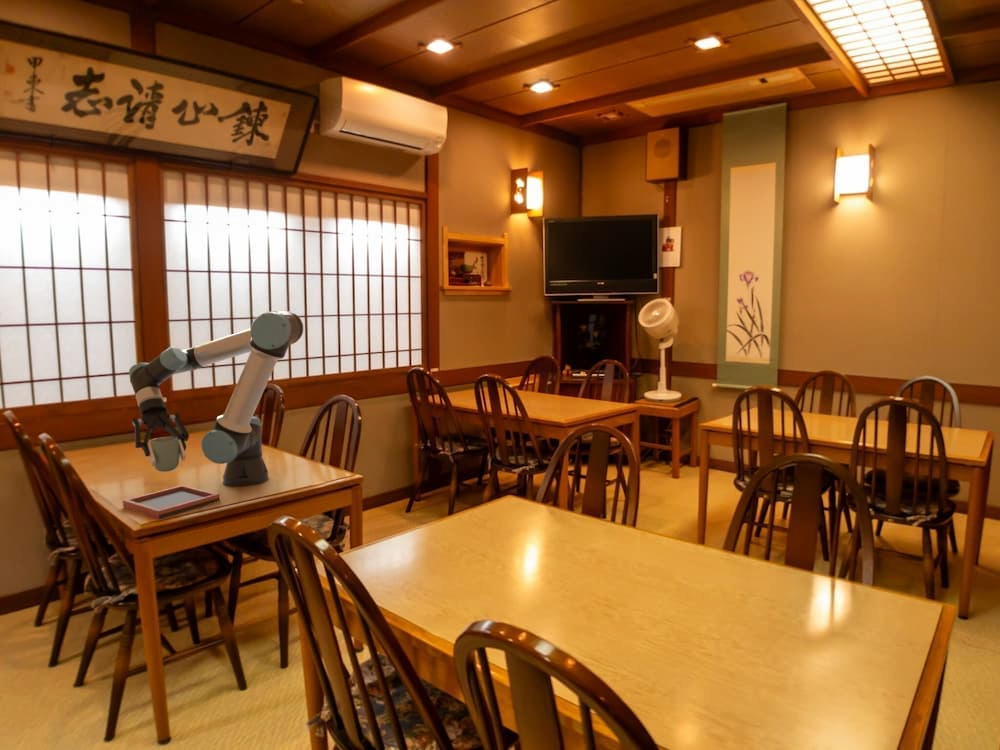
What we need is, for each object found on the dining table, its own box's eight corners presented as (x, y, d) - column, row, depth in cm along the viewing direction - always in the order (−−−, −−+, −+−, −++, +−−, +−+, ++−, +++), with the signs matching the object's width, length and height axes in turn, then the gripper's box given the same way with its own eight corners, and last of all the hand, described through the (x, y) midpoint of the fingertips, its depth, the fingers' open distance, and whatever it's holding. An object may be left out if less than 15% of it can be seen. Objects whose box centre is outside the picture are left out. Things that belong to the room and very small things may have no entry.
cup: (185, 467, 213) (183, 436, 212) (171, 473, 205) (168, 442, 204) (163, 466, 214) (160, 436, 212) (147, 473, 206) (144, 441, 205)
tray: (219, 501, 213) (219, 494, 213) (158, 519, 196) (158, 511, 196) (183, 491, 224) (183, 484, 224) (123, 507, 207) (122, 500, 207)
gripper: (183, 407, 226) (202, 461, 215) (114, 415, 212) (130, 474, 202) (187, 393, 221) (206, 448, 211) (116, 400, 207) (133, 460, 197)
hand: (169, 460), depth 206 cm, fingers closed on cup, 8 cm apart
